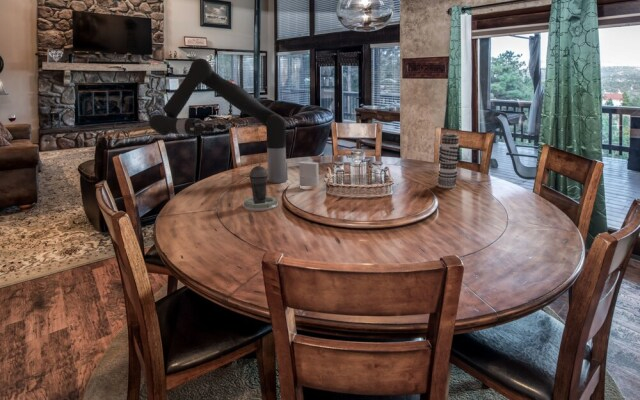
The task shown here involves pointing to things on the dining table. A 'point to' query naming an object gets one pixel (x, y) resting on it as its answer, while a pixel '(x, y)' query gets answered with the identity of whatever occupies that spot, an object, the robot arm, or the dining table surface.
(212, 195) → the dining table surface
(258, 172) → the beverage cup
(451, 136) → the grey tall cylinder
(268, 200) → the rimmed coaster
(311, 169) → the grey upright block
